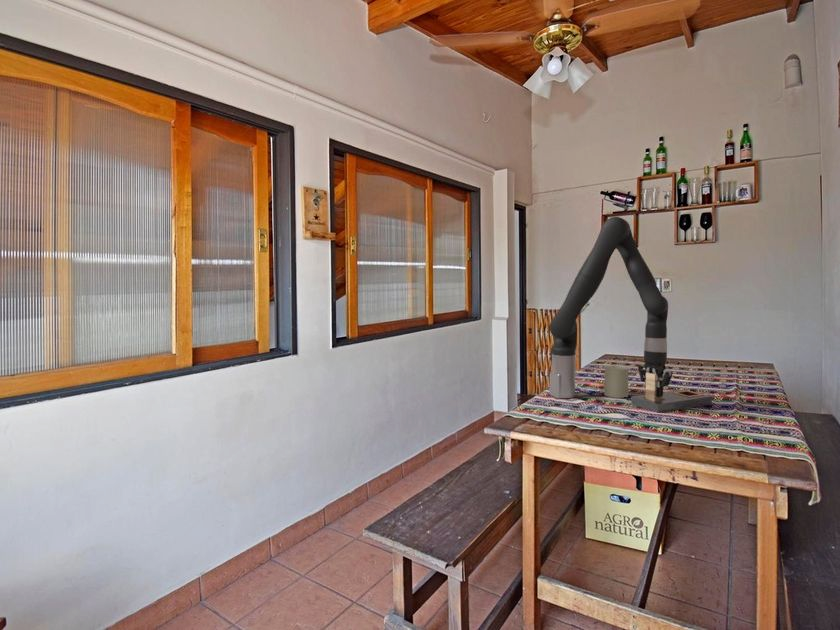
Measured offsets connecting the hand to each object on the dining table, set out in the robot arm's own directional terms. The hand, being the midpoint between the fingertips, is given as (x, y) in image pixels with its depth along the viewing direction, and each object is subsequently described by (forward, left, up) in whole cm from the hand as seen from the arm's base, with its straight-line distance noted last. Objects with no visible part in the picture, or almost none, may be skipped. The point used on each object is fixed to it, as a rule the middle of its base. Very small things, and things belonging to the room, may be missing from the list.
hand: (654, 395), depth 171 cm
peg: (0, 0, -4) cm, 4 cm away
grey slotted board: (+9, 0, -4) cm, 10 cm away
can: (0, +19, -5) cm, 19 cm away
